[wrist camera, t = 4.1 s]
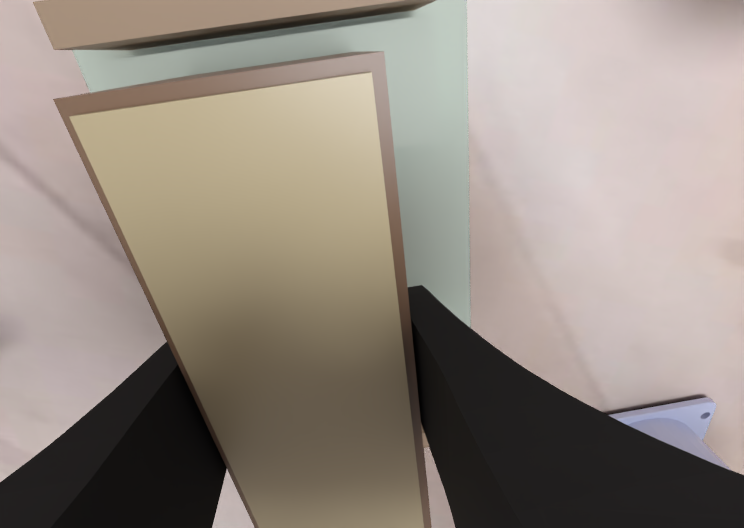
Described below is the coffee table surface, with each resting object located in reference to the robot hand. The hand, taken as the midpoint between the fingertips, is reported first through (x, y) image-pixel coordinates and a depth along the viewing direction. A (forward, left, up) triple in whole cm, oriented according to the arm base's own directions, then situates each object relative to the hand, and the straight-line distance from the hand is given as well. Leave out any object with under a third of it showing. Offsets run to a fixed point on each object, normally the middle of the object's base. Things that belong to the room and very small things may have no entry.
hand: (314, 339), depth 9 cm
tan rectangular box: (0, 0, -3) cm, 4 cm away
